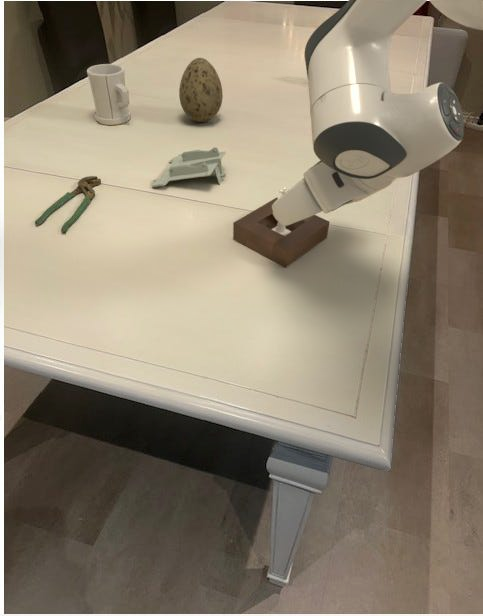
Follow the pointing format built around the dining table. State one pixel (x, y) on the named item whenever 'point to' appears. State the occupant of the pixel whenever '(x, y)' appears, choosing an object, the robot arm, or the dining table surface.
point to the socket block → (279, 235)
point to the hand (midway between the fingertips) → (294, 204)
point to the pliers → (82, 187)
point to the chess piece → (280, 228)
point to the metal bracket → (192, 166)
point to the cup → (109, 93)
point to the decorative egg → (200, 91)
